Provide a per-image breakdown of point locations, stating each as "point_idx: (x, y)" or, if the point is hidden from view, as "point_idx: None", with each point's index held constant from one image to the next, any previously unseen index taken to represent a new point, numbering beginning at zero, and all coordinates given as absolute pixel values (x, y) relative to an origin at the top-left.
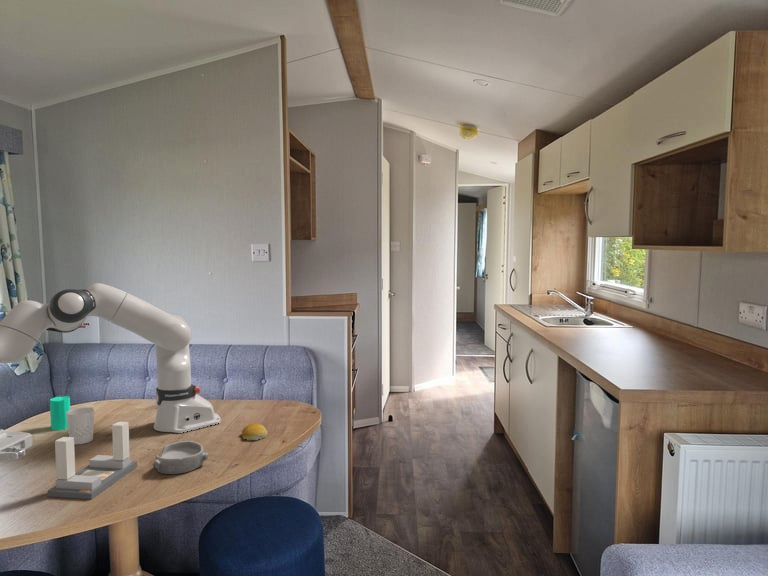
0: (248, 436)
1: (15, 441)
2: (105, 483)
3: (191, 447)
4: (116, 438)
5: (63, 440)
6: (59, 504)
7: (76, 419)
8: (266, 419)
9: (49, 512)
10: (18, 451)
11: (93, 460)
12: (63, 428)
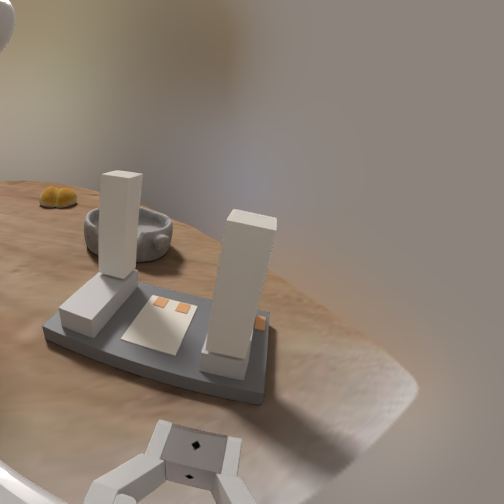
0: (71, 199)
1: (25, 486)
2: None
3: (98, 219)
4: (131, 215)
5: (265, 220)
6: (298, 365)
7: None
8: (9, 195)
9: (335, 368)
10: (207, 437)
11: (98, 313)
12: None
